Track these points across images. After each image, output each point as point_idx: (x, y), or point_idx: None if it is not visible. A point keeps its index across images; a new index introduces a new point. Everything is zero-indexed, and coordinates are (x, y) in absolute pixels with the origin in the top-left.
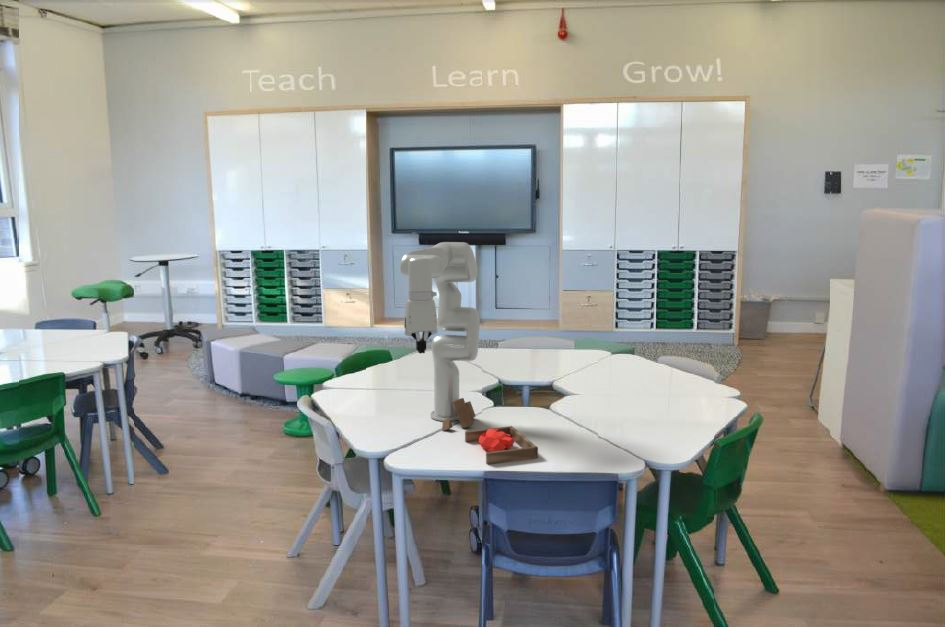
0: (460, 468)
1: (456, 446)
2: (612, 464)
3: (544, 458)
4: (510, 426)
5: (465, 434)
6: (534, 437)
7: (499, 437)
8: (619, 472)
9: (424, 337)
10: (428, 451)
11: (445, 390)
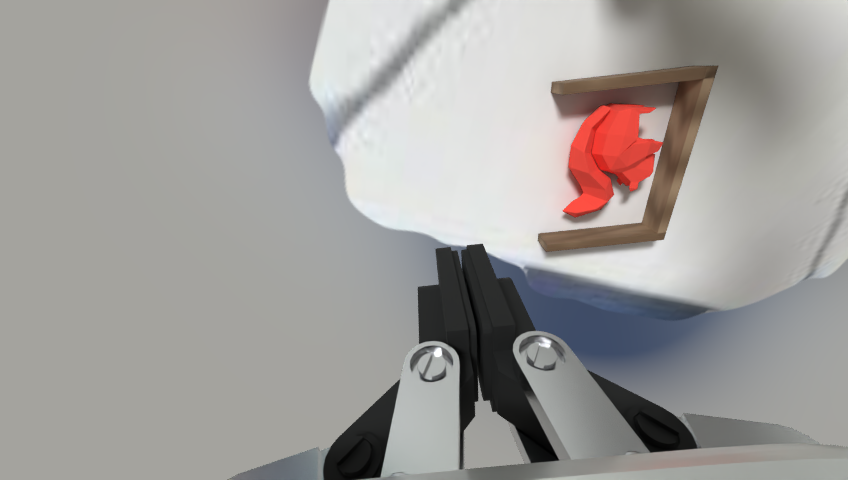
0: None
1: (515, 118)
2: (744, 280)
3: None
4: (712, 67)
5: (560, 87)
6: (737, 96)
7: (622, 168)
8: (723, 308)
9: (524, 449)
10: (438, 139)
11: None
